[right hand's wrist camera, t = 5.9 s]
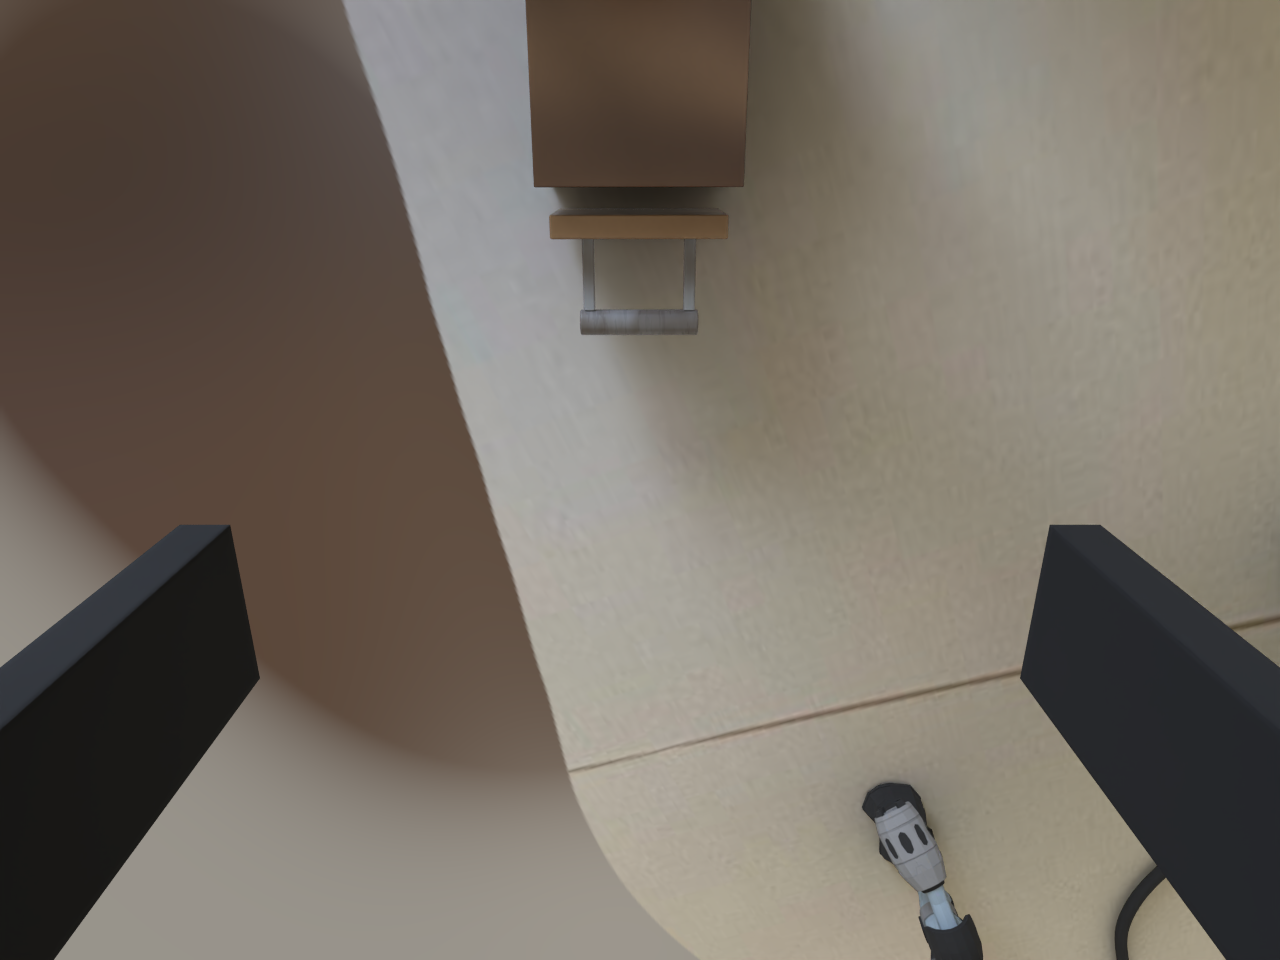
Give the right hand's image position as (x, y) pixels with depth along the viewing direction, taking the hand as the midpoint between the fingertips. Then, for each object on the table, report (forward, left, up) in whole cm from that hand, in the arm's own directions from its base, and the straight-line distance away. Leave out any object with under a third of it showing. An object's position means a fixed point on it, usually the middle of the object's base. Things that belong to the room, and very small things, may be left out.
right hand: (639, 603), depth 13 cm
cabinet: (+14, -1, -40) cm, 43 cm away
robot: (-44, -18, -40) cm, 62 cm away
